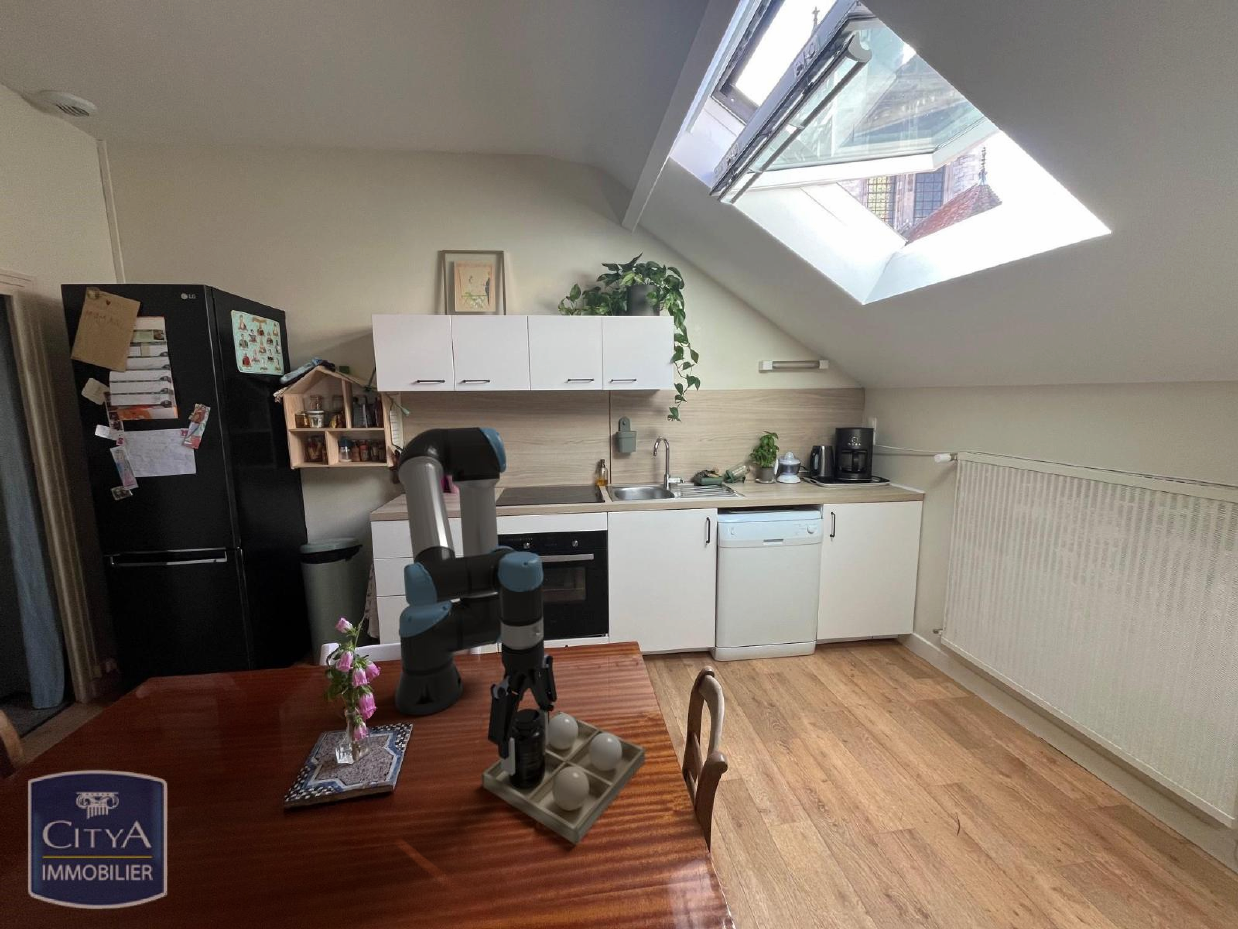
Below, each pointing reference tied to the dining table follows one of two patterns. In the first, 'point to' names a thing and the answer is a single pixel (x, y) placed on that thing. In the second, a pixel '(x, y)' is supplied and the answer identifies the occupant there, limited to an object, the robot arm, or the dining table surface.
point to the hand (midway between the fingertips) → (525, 755)
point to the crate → (540, 797)
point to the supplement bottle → (528, 750)
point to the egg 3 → (605, 752)
